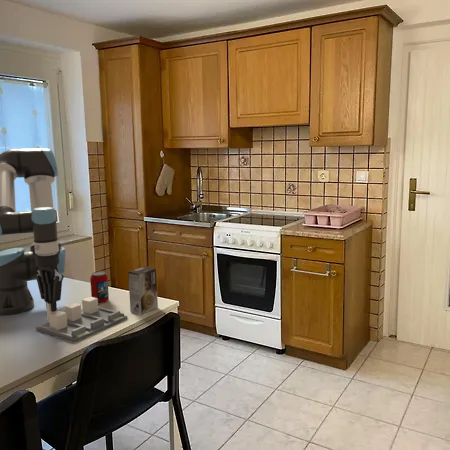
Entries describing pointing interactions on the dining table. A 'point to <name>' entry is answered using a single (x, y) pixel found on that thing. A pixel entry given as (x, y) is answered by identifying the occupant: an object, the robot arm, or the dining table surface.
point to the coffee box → (143, 290)
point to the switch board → (85, 325)
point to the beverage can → (99, 286)
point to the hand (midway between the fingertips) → (52, 319)
